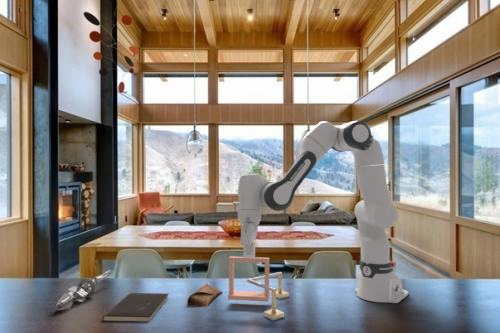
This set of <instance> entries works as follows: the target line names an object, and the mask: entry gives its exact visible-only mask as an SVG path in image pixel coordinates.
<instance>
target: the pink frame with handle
mask: <svg viewBox="0 0 500 333" xmlns="http://www.w3.org/2000/svg"><path fill="white" fill-rule="evenodd" d="M242 246H243V247H242V248H243V251H242V252H243V256H233V255H231V256H229V257H228V294H227V300H230V301H231V300H233V301H246V302H247V301H249V302H252V301H253V302H267V303H268V302H269V300H270V296H271V295H270V294H271V291H270V290H267V289H264V291H252V290H251V291H250V290H249V291H248V290H235V266H234V265H235V263H260V264H262V263H263V264H264V275H265V279H264V284H265V285H268V286H270V278H269V274H270V257H261V256H259V257H258V256H256V243H253V244H251V254H250V255H246V248H245V245H242Z"/></svg>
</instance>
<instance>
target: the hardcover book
mask: <svg viewBox="0 0 500 333" xmlns="http://www.w3.org/2000/svg"><path fill="white" fill-rule="evenodd" d="M169 295H170V294H169V293H162V292H161V293H158V292H155V293H153V292H151V293H149V292H148V293H147V292H144V293H143V292H130V293H128V294H127V295H126V296H124V298H123V299H121V300H120V301H119V302H118V303H116V304H115V305H114V306H113V307H112V308H111V309H110V310H109V311H107V312H105V314H104V315H103V316H102V321H114V322H115V321H117V322H118V321H120V322H125V321H126V322H150V320H151V319H152V318H154V316H155V314H156V313H157V312H158V311H159V309H160V308H161V307H162V306H163V304H164V303H165V302H166V301H167V299H168V298H169Z"/></svg>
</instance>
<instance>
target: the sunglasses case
mask: <svg viewBox="0 0 500 333" xmlns="http://www.w3.org/2000/svg"><path fill="white" fill-rule="evenodd" d="M222 294H223V291H221V290H219V289H217V288H215V287H213V286H212V285H210V284H208V283H206V284H205V285H203V286H202V287H200V288H199V289H198V290H196V291H195V292H194V293H192V294H191V295H189V297H188V299H187V305H188V306H192V307H207V308H208V307H209V306H210V304H211V303H212V302H214V301H215V299H216V298H218V296H220V295H222Z"/></svg>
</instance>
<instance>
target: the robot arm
mask: <svg viewBox="0 0 500 333" xmlns="http://www.w3.org/2000/svg"><path fill="white" fill-rule="evenodd" d="M330 149H333V150H334V151H336V152H341V153H344V152H349V151H350V152H352V154H353V155H354V159H355V169H356V170H355V171H356V181H357V188H359V191H360V194H361V196H362V197H361V198H362V199H361V200H360V201H359V202H357V203H356V204H355V207H354V215H355V217H356V222H357V229H358V233H359V240H360V260H359V269H360V270H359V271H358V273H357V282H356V287H355V288H354V292H355V293H356V296H358V298H360V299H362V300H365V301H368V302H374V303H391V304H399V302H401V301H402V300H403V299H405V298H406V297H407V296H408V295H409V294H410V293H409V291H408V290H406V289H404V288H403V282H402V279H401V278H400V276H398V274H396V273H395V272H394V271H393V267H394V268H395V267H396V261H391V255H390V254H391V249H390V247H391V246H390V244H391V243H390V240H389V239H388V236H387V233H386V229H390V228H392V227H393V226H395V225H396V224H397V222H398V221H399V212H398V210H397V208H396V207H395V204H394V203H393V200H392V197H391V195H390V191H389V188H388V183H387V175H386V169H385V159H384V154H383V150H382V147H381V143H380V142H379V141H378V140H377V139H375V138H374V136H373V135H372V132H371V129H370V127H369V125H367V123H366V122H363V121H360V120H351V121H349V122H346V123H343V124H341V125H339V126H335V125H334V124H333V123H331V122H328V121H323V120H322V121H320V122H318V123H317V124H316V125H314V126H313V127H312V128H311V129H309V131H307V133H306V134H305V135H304V136H303V137H302V139H301V140H299V142H298V143H297V146H296V147H295V149H294V156H295V161H294V163H293V165H292V166H291V167H290V168H289V170H288V171H287V172H286V173H285V175H283V177H282V178H281V179H279V180H278V181H275V182H273V181H272V180H268V179H267V178H265V177H263V176H262V175H260V174H259V173H257V172H256V173H254V172H253V173H250V174H244V175H241V177H240V178H239V181H238V188H237V197H238V205H237V221H238V222H240V226H241V228H240V245H241V246H243V245H245V248H246V255H250V254H251V244H254V241H255V239H256V238H257V236H258V229H259V222H261V221H262V207H264V206H265V207H267V208H269V209H271V210H272V211H277V212H281V211H282V212H283V211H284V210H287V209H288V208H289V207H290V206H291V205H292V203H293V200H294V196H295V193H296V191H297V189H298V188H299V187H300V186H301V185H302V183H303V181H304V180H305V179H306V178H307V176H308V175H309V173H310V172H311V171H312V169H314V168H315V166H317V164H318V163H319V162H320V161H321V160H322V159H324V157H325V156H326V154H327V153H328V152H329V151H330Z"/></svg>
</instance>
